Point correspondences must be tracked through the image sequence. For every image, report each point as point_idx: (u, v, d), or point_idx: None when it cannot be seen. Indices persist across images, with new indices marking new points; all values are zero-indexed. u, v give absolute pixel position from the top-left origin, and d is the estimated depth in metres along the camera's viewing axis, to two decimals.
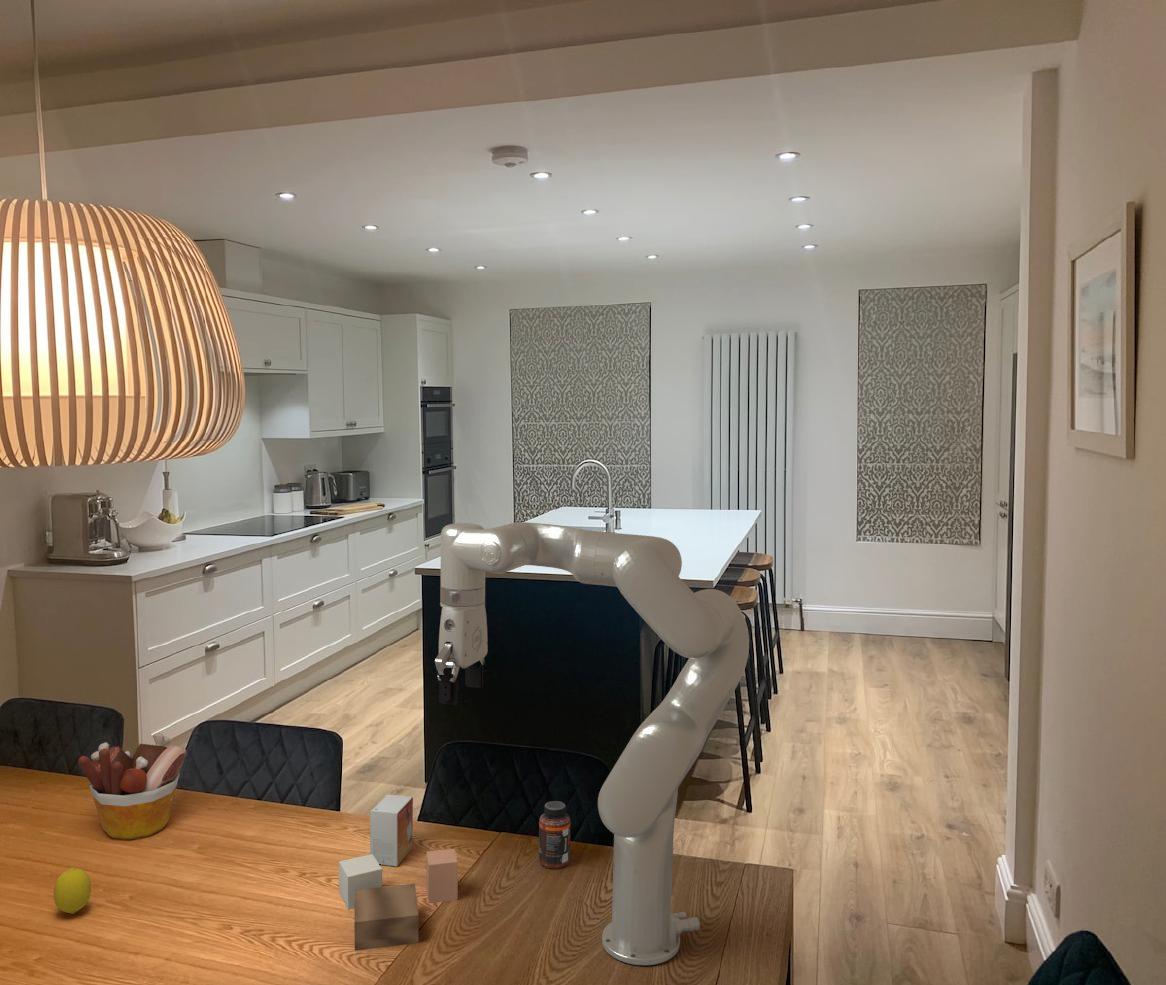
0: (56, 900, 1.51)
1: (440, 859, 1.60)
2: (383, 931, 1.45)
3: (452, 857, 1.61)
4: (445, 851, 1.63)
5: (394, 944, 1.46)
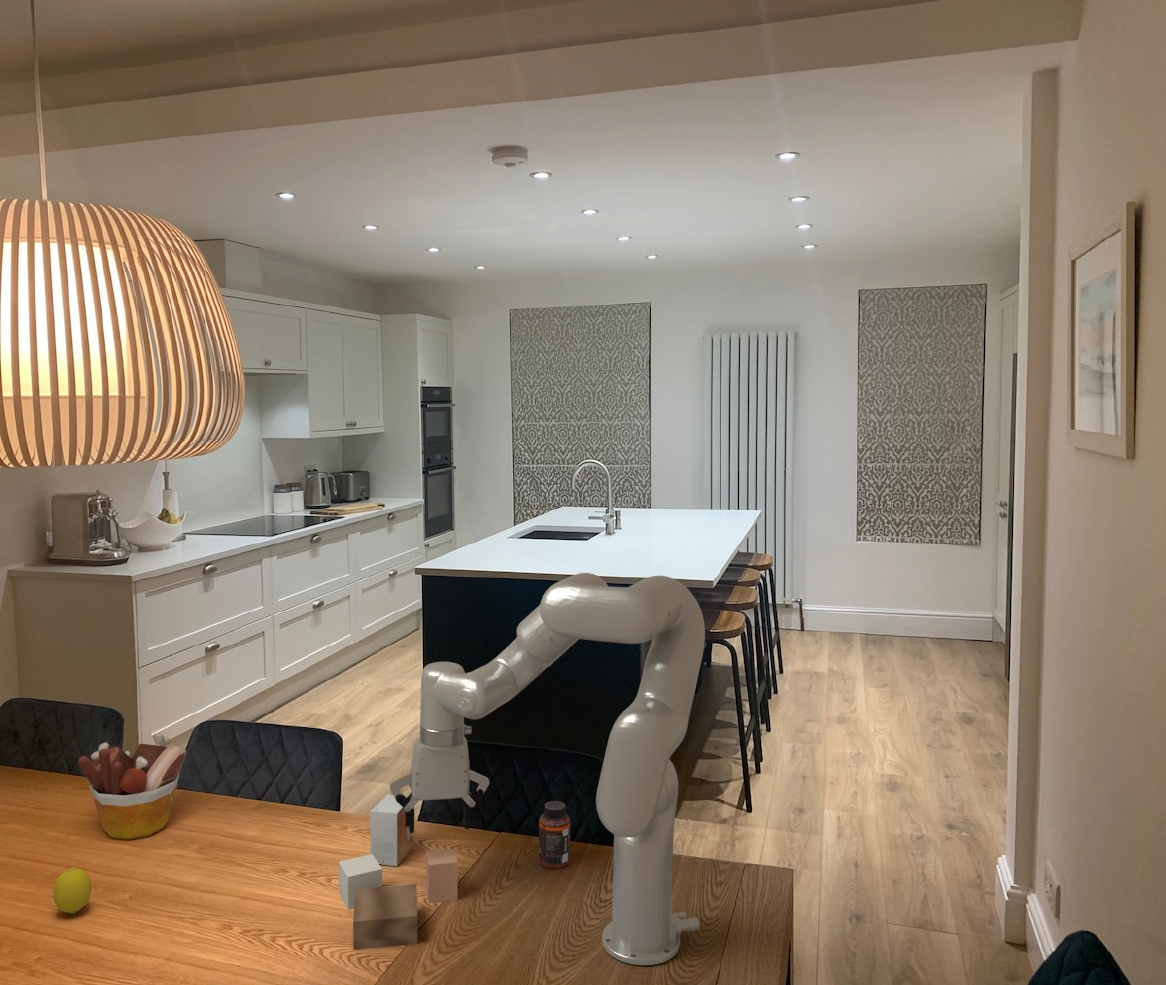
0: (56, 900, 1.51)
1: (440, 859, 1.60)
2: (381, 931, 1.45)
3: (452, 857, 1.61)
4: (445, 851, 1.63)
5: (393, 944, 1.46)
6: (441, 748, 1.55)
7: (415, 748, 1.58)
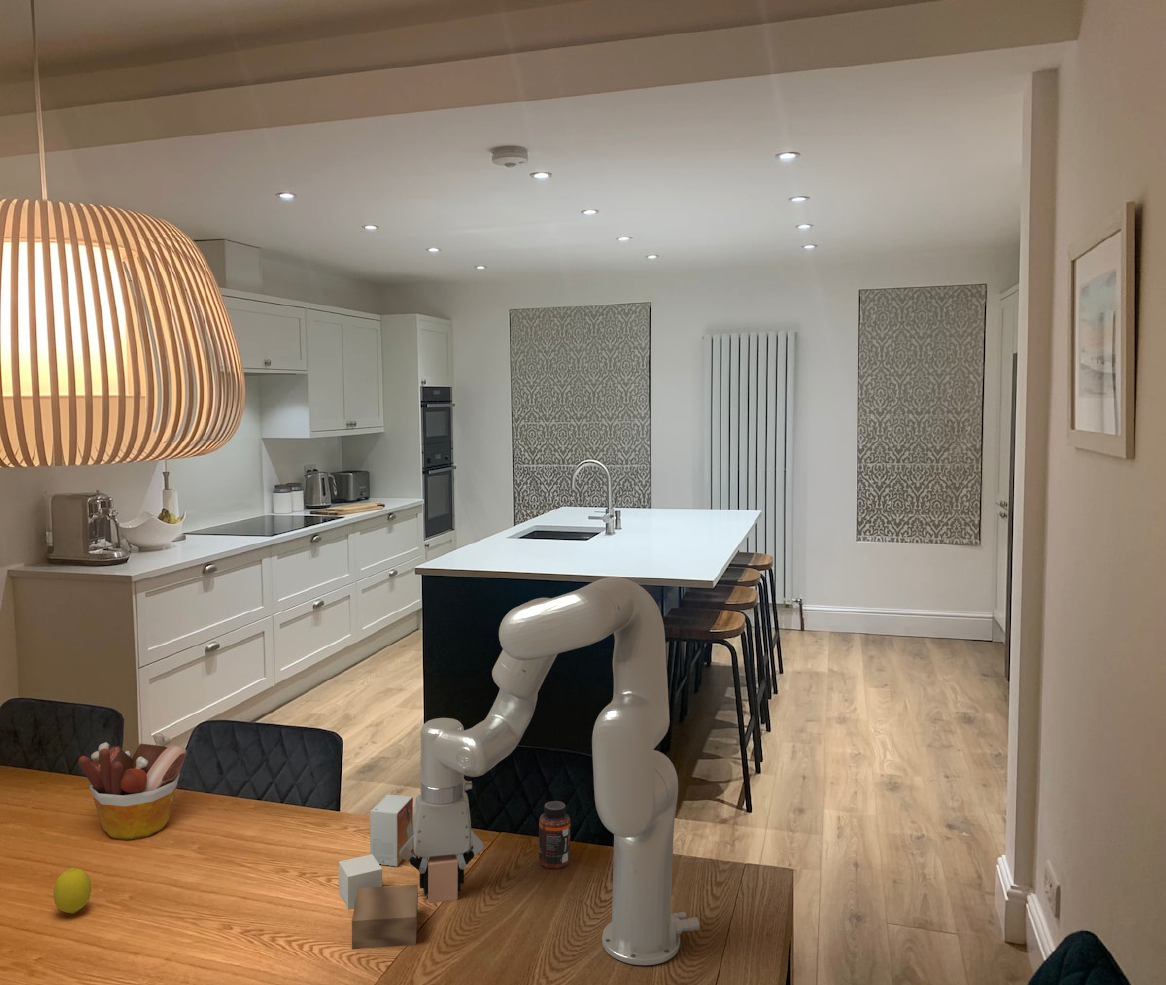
0: (56, 900, 1.51)
1: (440, 858, 1.60)
2: (380, 931, 1.45)
3: (452, 857, 1.61)
4: None
5: (392, 945, 1.46)
6: (442, 805, 1.56)
7: (416, 805, 1.58)
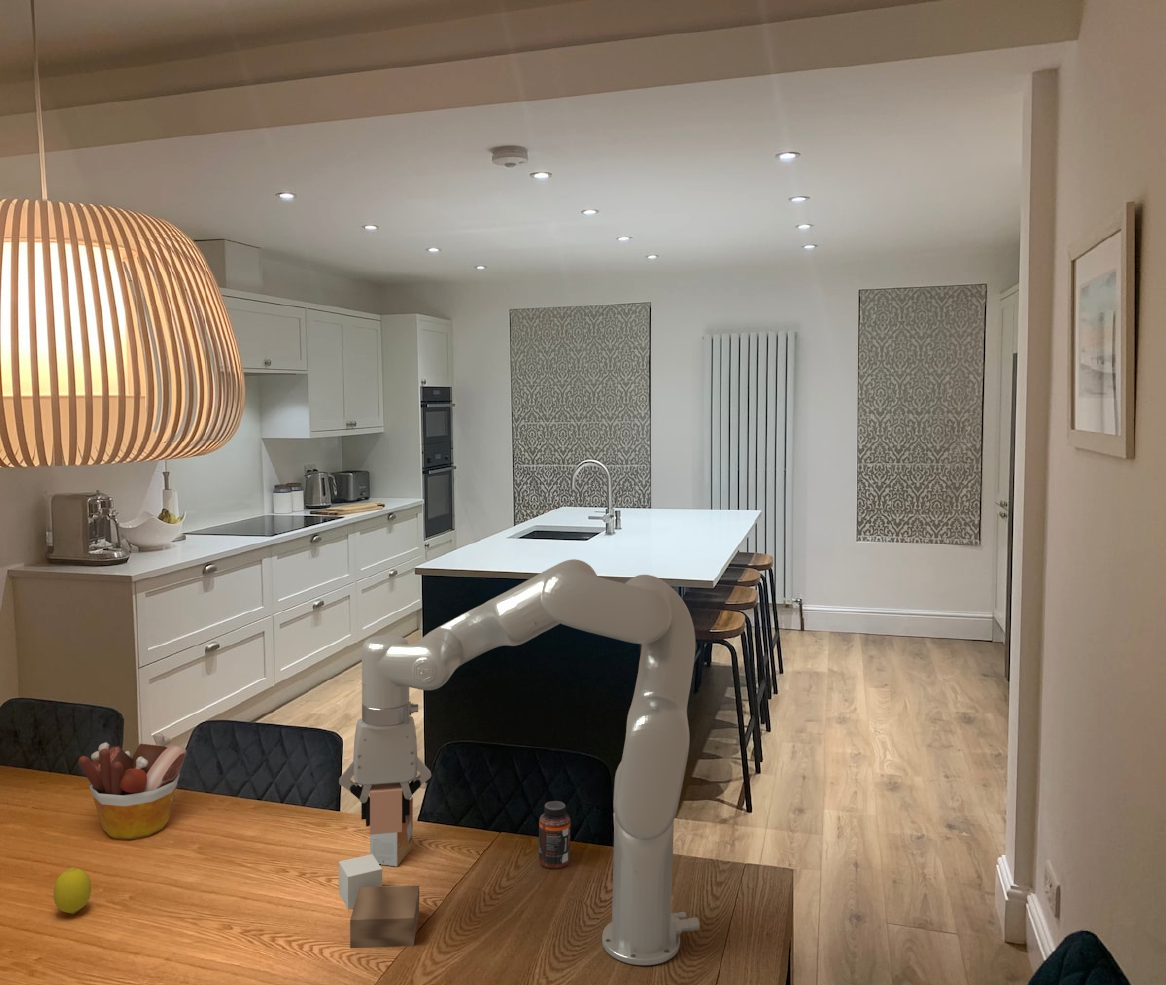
0: (56, 900, 1.51)
1: (383, 787, 1.47)
2: (378, 931, 1.45)
3: (396, 786, 1.48)
4: None
5: (390, 945, 1.45)
6: (384, 727, 1.44)
7: (357, 728, 1.46)
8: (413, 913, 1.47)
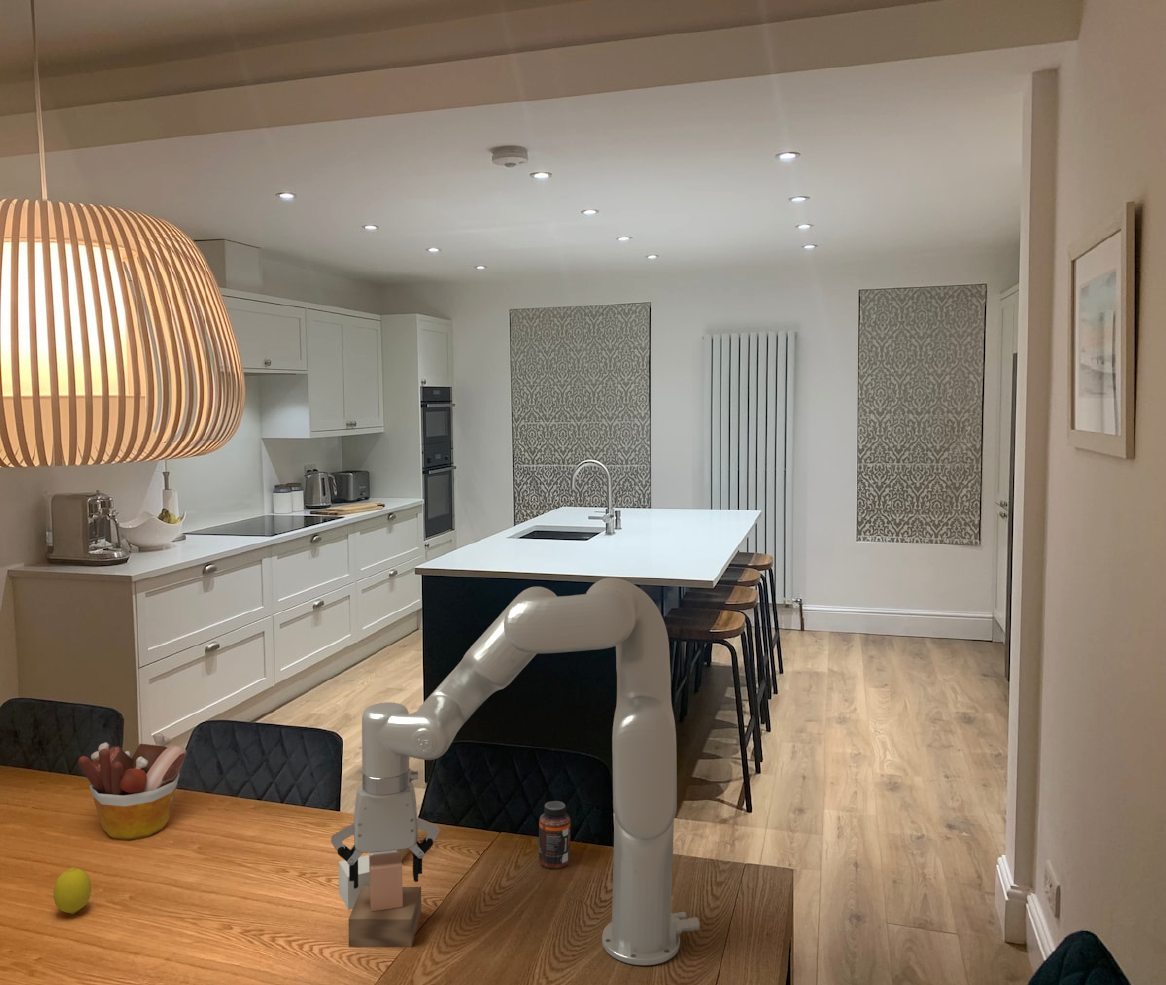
0: (56, 900, 1.51)
1: (383, 863, 1.49)
2: (376, 931, 1.45)
3: (396, 861, 1.49)
4: (389, 854, 1.51)
5: (388, 946, 1.45)
6: (384, 796, 1.45)
7: (357, 797, 1.47)
8: (411, 914, 1.46)
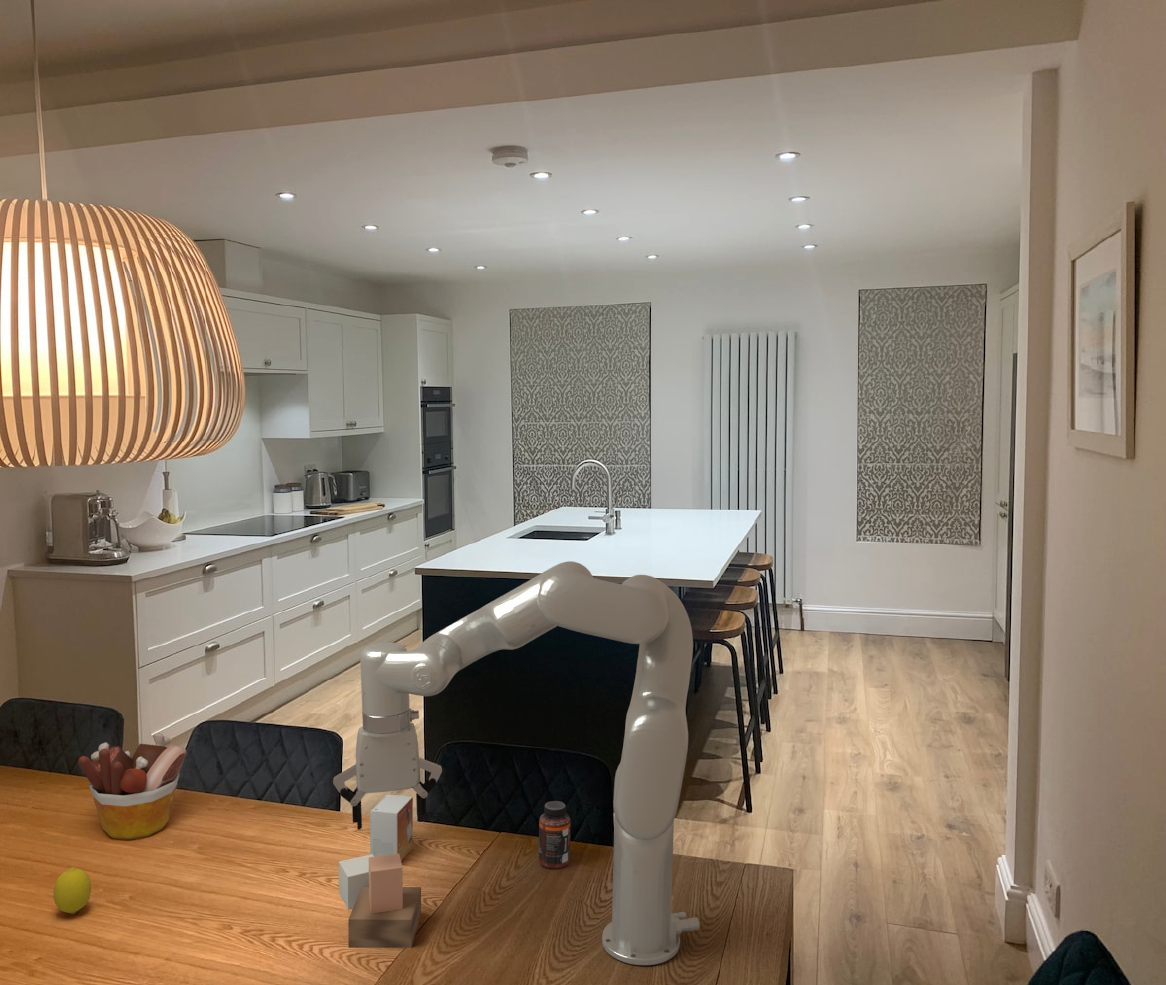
0: (56, 900, 1.51)
1: (383, 865, 1.48)
2: (376, 932, 1.45)
3: (396, 863, 1.49)
4: (389, 856, 1.51)
5: (388, 946, 1.45)
6: (385, 735, 1.44)
7: (358, 737, 1.46)
8: (411, 915, 1.46)
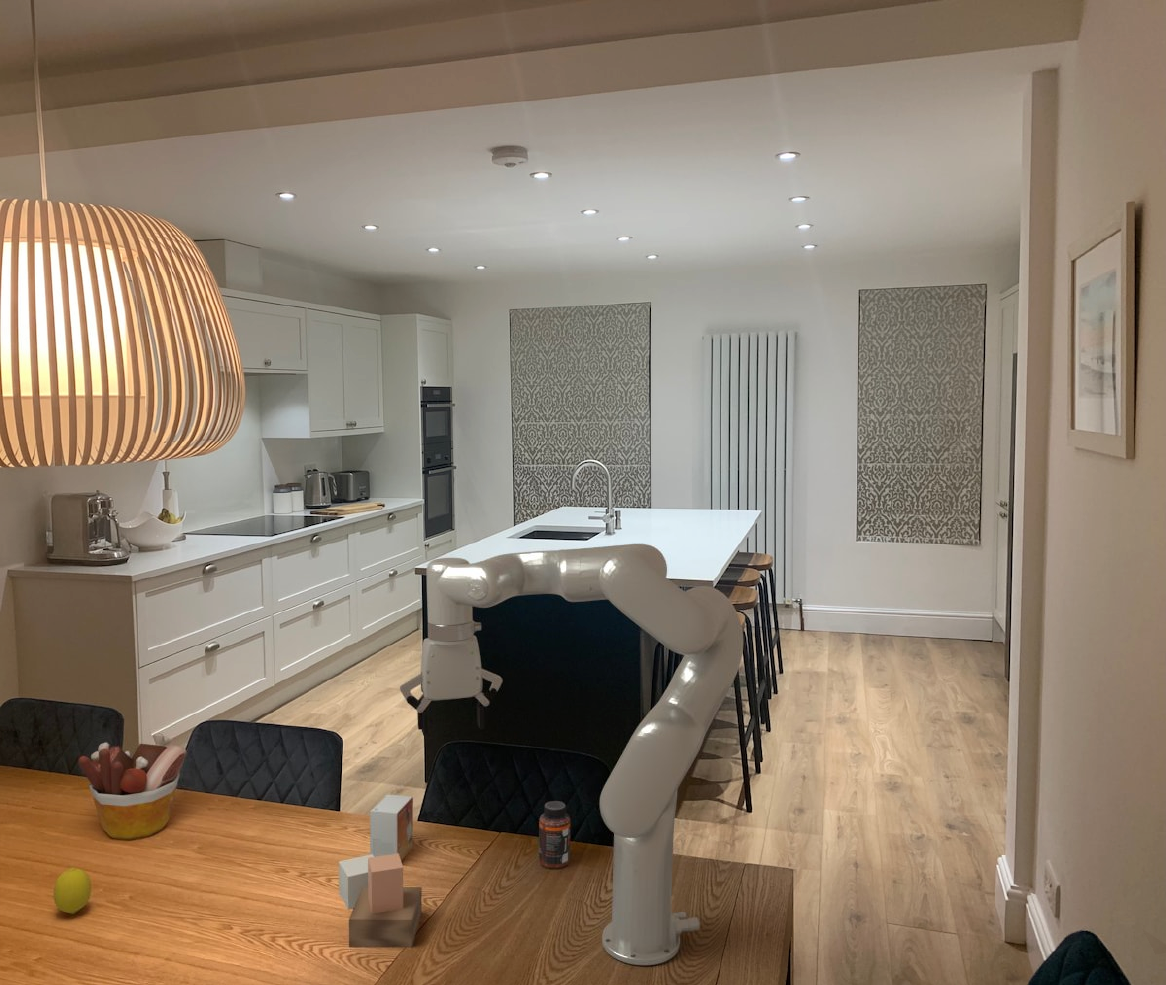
0: (56, 900, 1.51)
1: (383, 865, 1.48)
2: (376, 932, 1.45)
3: (396, 863, 1.49)
4: (388, 856, 1.51)
5: (388, 946, 1.45)
6: (451, 643, 1.50)
7: (424, 646, 1.52)
8: (412, 915, 1.46)
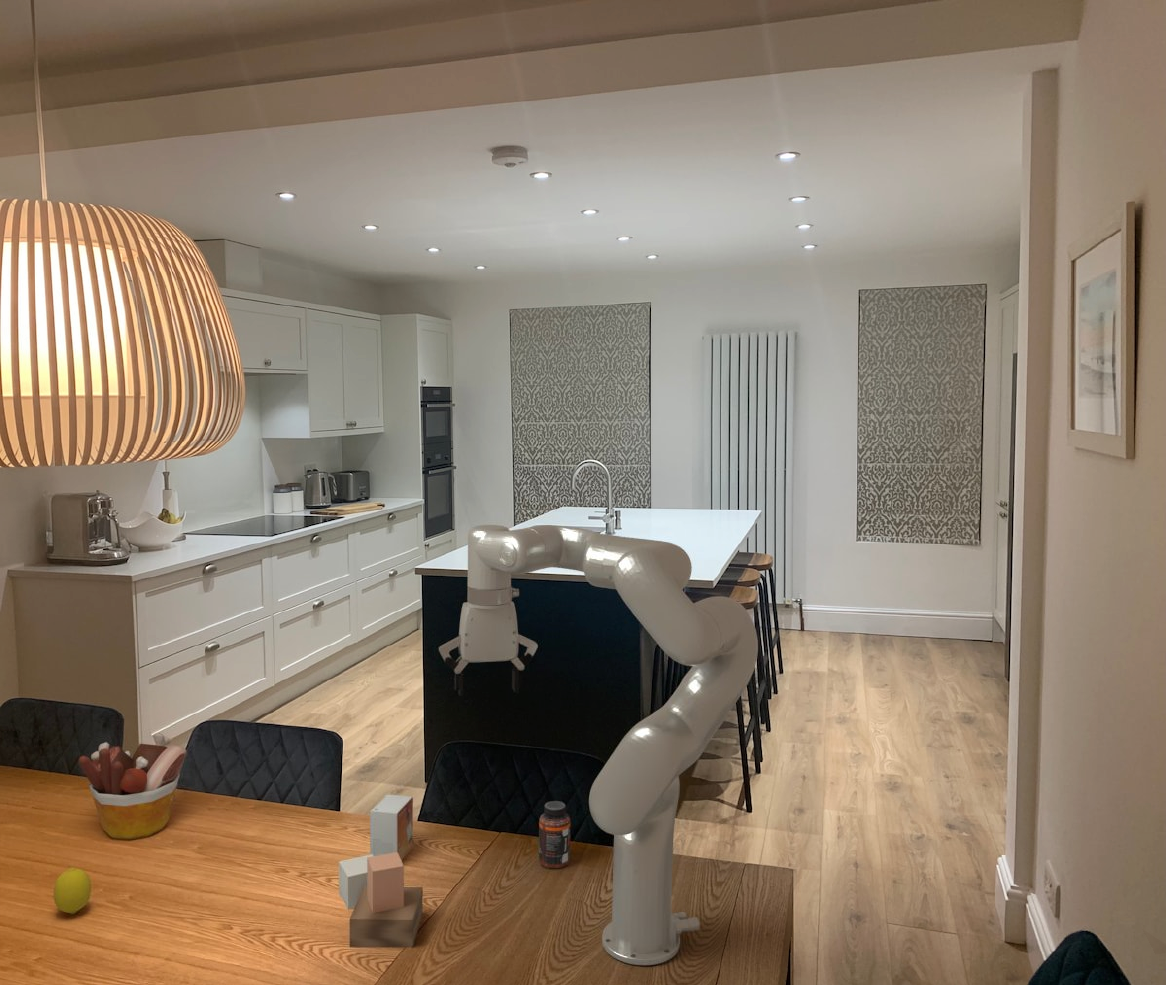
0: (56, 900, 1.51)
1: (384, 864, 1.48)
2: (377, 932, 1.45)
3: (397, 861, 1.49)
4: (388, 855, 1.51)
5: (389, 946, 1.45)
6: (490, 607, 1.55)
7: (463, 610, 1.57)
8: (412, 915, 1.46)
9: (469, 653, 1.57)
